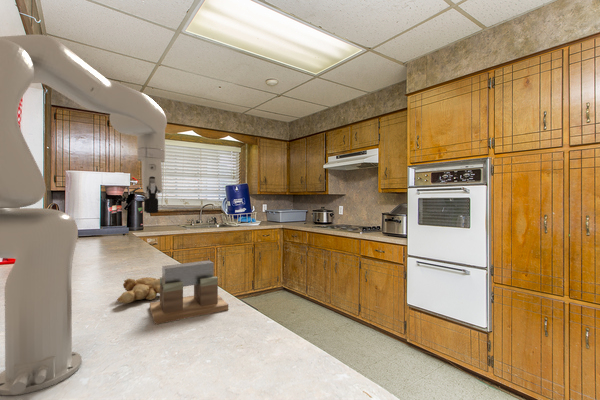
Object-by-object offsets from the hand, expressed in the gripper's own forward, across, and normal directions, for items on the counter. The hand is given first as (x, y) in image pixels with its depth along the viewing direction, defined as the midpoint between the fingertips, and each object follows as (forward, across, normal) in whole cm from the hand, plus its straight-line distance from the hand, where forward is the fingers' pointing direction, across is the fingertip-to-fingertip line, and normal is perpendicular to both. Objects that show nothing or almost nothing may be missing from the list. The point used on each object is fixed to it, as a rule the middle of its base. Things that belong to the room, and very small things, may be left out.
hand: (150, 212), depth 90 cm
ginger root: (+30, +12, +2) cm, 32 cm away
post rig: (+29, -6, -10) cm, 31 cm away
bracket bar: (+22, -6, -10) cm, 25 cm away
